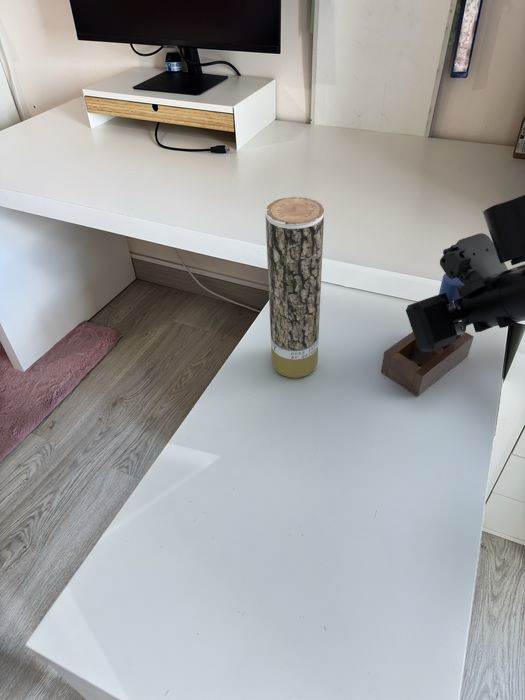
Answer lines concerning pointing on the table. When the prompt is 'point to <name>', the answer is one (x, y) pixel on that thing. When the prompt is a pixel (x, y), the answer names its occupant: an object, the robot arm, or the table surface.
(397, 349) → the rack
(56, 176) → the table surface
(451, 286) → the peg
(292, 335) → the paper tube
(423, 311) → the robot arm
